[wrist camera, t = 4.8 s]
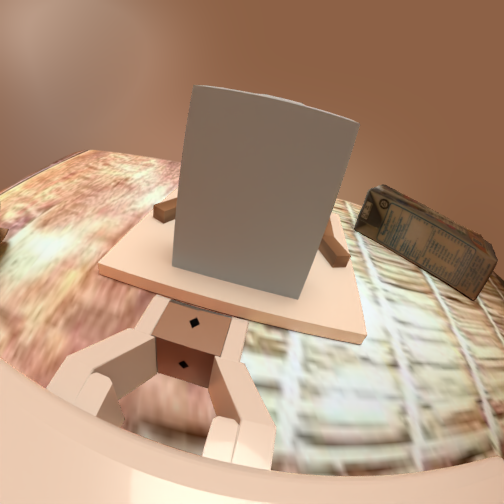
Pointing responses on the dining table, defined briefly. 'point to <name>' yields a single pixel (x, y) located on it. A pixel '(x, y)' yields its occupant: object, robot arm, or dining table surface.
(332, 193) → the tee block
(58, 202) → the dining table surface
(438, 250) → the beverage carton
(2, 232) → the mushroom
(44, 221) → the dining table surface
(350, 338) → the board
